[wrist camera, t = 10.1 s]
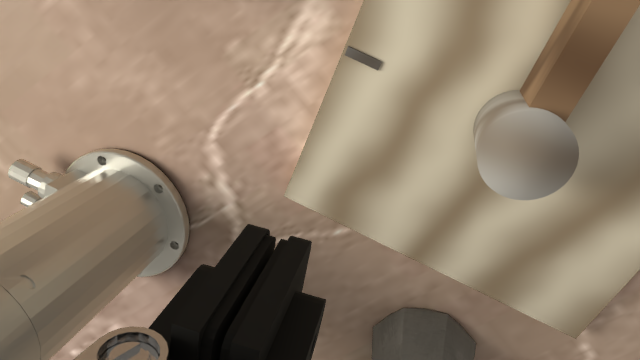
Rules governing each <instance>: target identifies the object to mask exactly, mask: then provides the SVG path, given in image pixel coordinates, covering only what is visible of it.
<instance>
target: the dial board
mask: <svg viewBox="0 0 640 360" xmlns="http://www.w3.org/2000/svg"><path fill="white" fill-rule="evenodd" d="M570 1H571V0H364V2H363V4H362V6H361V9H360V11H359V14H358V16H357V19H356V21H355V24H354V26H353V28H352V31H351V33H350V36H349V38H348V41H347V43H346V46H345V48H344V50H343V53H342V55H341V58H340V60H339V63H338V65H337V68H336V70H335V72H334V75H333V77H332V80H331V82H330V85H329V87H328V89H327V92H326V94H325V97H324V99H323V102H322V104H321V107H320V109H319V111H318V114H317V116H316V119H315V121H314V124H313V126H312V129H311V131H310V133H309V136H308V138H307V141H306V143H305V146H304V148H303V151H302V153H301V155H300V158H299V160H298V163H297V165H296V168H295V170H294V172H293V175H292V177H291V180H290V182H289V185H288V187H287V190H286V192H285V194H284V197H286V198H289V199H291V200H293V201H295V202H297V203H299V204H301V205H303V206H305V207H307V208H309V209H311V210H313V211H315V212H317V213H319V214H321V215H323V216H325V217H327V218H329V219H331V220H334V221H336V222H338V223H340V224H342V225H344V226H346V227H348V228H350V229H352V230H354V231H356V232H358V233H360V234H362V235H364V236H366V237H368V238H370V239H372V240H374V241H376V242H379V243H381V244H383V245H385V246H387V247H389V248H391V249H393V250H395V251H397V252H399V253H401V254H403V255H405V256H407V257H409V258H411V259H413V260H415V261H417V262H419V263H421V264H423V265H426V266H428V267H430V268H432V269H434V270H436V271H438V272H440V273H442V274H444V275H446V276H448V277H450V278H452V279H454V280H456V281H458V282H460V283H462V284H464V285H466V286H468V287H471V288H473V289H475V290H477V291H479V292H481V293H483V294H485V295H487V296H489V297H491V298H493V299H495V300H497V301H499V302H501V303H503V304H505V305H507V306H509V307H511V308H513V309H516V310H518V311H520V312H522V313H524V314H526V315H528V316H530V317H532V318H534V319H536V320H538V321H540V322H542V323H544V324H546V325H548V326H550V327H552V328H554V329H556V330H558V331H561V332H563V333H565V334H567V335H569V336H571V337H573V338H575V339H576V338H577V337H578V336H579V335H580V334H581V333H582V331H583V330H584V329H585V328H586V327H587V326H588V325H589V324H590V323H591V322H592V321H593V320H594V318H595V317H596V316H597V315H598V314H599V313H600V312H601V311H602V310H603V309H604V308H605V307H606V305H607V304H608V303H609V302H610V301H611V300H612V299H613V298H614V297H615V296H616V295H617V294H618V292H619V291H620V290H621V289H622V288H623V287H624V286H625V285H626V284H627V283H628V282H629V281H630V279H631V278H632V277H633V276H634V275H635V274H636V273H637V272H638V271H639V270H640V6H639V7H638V9H637V10H636V12H635V13H634V15H633V17H632V18H631V20H630V21H629V23H628V24H627V26H626V28H625V29H624V31H623V32H622V34H621V35H620V37H619V39H618V40H617V42H616V43H615V45H614V46H613V48H612V50H611V51H610V53H609V54H608V56H607V57H606V59H605V61H604V62H603V64H602V65H601V67H600V68H599V70H598V72H597V73H596V75H595V76H594V78H593V79H592V81H591V83H590V84H589V86H588V87H587V89H586V90H585V92H584V94H583V95H582V97H581V98H580V100H579V101H578V103H577V105H576V106H575V108H574V109H573V111H572V112H571V114H570V116H569V117H568V119H567V120H566V122H565V123H566V124H567V125H568V126H569V128H570V129H571V130H572V132H573V134H574V135H575V137H576V140H577V142H578V147H579V159H578V164H577V167H576V169H575V172H574V173H573V175H572V177H571V178H570V179H569V180H568V182H567V183H566V184H565V185H564V186H563V187H561V188H560V189H559V190H557V191H556V192H554V193H552V194H550V195H548V196H546V197H543V198H539V199H535V200H514V199H510V198H507V197H504V196H502V195H500V194H498V193H496V192H495V191H493V190H492V189H491V188H490V187H489V186H488V185H487V184H486V183H485V182H484V180H483V179H482V177H481V175H480V173H479V169H478V165H477V157H476V149H475V142H474V134H473V127H474V122H475V119H476V116H477V114H478V112H479V111H480V109H481V108H482V107H483V106H484V105H485V104H486V103H487V102H488V101H489V100H490V99H492V98H493V97H495V96H497V95H499V94H501V93H503V92H507V91H512V90H520V89H521V87H522V86H523V84H524V82H525V80H526V79H527V77H528V75H529V73H530V71H531V70H532V68H533V66H534V64H535V63H536V61H537V59H538V57H539V56H540V54H541V52H542V50H543V49H544V47H545V45H546V43H547V42H548V40H549V38H550V36H551V34H552V33H553V31H554V29H555V27H556V26H557V24H558V22H559V20H560V19H561V17H562V15H563V13H564V12H565V10H566V8H567V6H568V5H569V3H570Z"/></svg>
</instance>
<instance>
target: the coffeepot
mask: <svg viewBox="0 0 640 360" xmlns="http://www.w3.org/2000/svg"><path fill="white" fill-rule="evenodd" d="M475 348H476V343H475V341H474V340H473V339H472V338H471V337H470V336H469V335H468V333H467V332H466V331H465V330H464V328H463V327H462V326H461V325H460V324H458V323H457V322H456V321H455V320H454V319H452V318H451V317H450V316H449V315H448V314H445V313H441V312H438V311H434V310H429V309H424V308H410V309H409V308H402V309H400V310H398V311H396V312H394V313H392V314H390V315H388V316H387V317H386V318H384V319H383V320H382V321H381V322H380V323H378V324H377V325H375V326H374V327H373V339H372V360H474V355H475Z"/></svg>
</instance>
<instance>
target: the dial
mask: <svg viewBox="0 0 640 360" xmlns="http://www.w3.org/2000/svg"><path fill="white" fill-rule="evenodd" d="M639 6H640V0H571V1H570V3H569V5H568V6H567V8H566V10H565V12H564V13H563V15H562V17H561V19H560V20H559V22H558V24H557V26H556V27H555V29H554V31H553V33H552V34H551V36H550V38H549V40H548V42H547V43H546V45H545V47H544V49H543V50H542V52H541V54H540V56H539V57H538V59H537V61H536V63H535V64H534V66H533V68H532V70H531V71H530V73H529V75H528V77H527V79H526V80H525V82H524V84H523V86H522V87H521V89H520V90H512V91H507V92H503V93H501V94H499V95H497V96H495V97H493V98H492V99H490V100H489V101H488V102H487V103H486V104H485V105H484V106H483V107H482V108H481V109H480V111H479V112H478V114H477V116H476V119H475V122H474V127H473V134H474V142H475V149H476V157H477V165H478V169H479V173H480V175H481V177H482V179H483V180H484V182H485V183H486V184H487V185H488V186H489V187H490V188H491V189H492V190H493V191H495V192H496V193H498V194H500V195H502V196H504V197H507V198H510V199H514V200H535V199H539V198H543V197H546V196H548V195H550V194H552V193H554V192H556V191H557V190H559V189H560V188H561V187H563V186H564V185H565V184H566V183H567V182H568V180H569V179H570V178H571V177H572V175H573V173H574V172H575V169H576V167H577V164H578V159H579V147H578V142H577V140H576V137H575V135H574V134H573V132H572V130H571V129H570V128H569V126H568V125H567V124H566V123H565V122H566V120H567V119H568V117H569V116H570V114H571V112H572V111H573V109H574V108H575V106H576V105H577V103H578V101H579V100H580V98H581V97H582V95H583V94H584V92H585V90H586V89H587V87H588V86H589V84H590V83H591V81H592V79H593V78H594V76H595V75H596V73H597V72H598V70H599V68H600V67H601V65H602V64H603V62H604V61H605V59H606V57H607V56H608V54H609V53H610V51H611V50H612V48H613V46H614V45H615V43H616V42H617V40H618V39H619V37H620V35H621V34H622V32H623V31H624V29H625V28H626V26H627V24H628V23H629V21H630V20H631V18H632V17H633V15H634V13H635V12H636V10H637V9H638V7H639Z"/></svg>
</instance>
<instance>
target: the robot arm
mask: <svg viewBox="0 0 640 360" xmlns="http://www.w3.org/2000/svg"><path fill="white" fill-rule="evenodd" d="M8 175H9V178H11V179H13V180H15V181H17V182H19V183H21V184H23V185H25V186H27V187H29V188H30V187H31V188H33V189H35V190H37V191H38V195H37V194H36V193H34V192H32V191H29V192H27V193H25V194H24V195H23V197H22V199H21V204H22V205H24V206H26V208H24V209H22V210H20V211H19V212H17V213H15V214H13V215H11V216H9V217H8V218H6V219H4V220H2V221H0V360H50V359H51V358H52V357H53V356H54V355H55V354H56V353H57V352H58V351H59V350H60V349H61V348H62V347H63V346H64V345H65V344H66V343H67V342H69V341H70V340H71V339H72V338H73V337H74V336H75V335H76V334H77V333H78V332H79V331H80V330H81V329H82V328H83V327H84V326H85V325H86V324H87V323H88V322H89V321H91V320H92V319H93V318H94V317H95V316H96V315H97V314H98V313H99V312H100V311H101V310H102V309H103V308H104V307H105V306H106V305H107V304H108V303H109V302H110V301H111V300H113V299H114V298H115V297H116V296H117V295H118V294H119V293H120V292H121V291H122V290H123V289H124V288H125V287H126V286H127V285H128V284H129V283H130V282H131V281H132V280H133V279H135V278H136V277H148V276H155V275H158V274H160V273H163V272H165V271H166V270H168V269H169V268H171V267H172V266H173V265H174V264H175V263H176V262H177V261H178V260H179V258H180V257H181V256H182V254H183V253H184V251H185V249H186V246H187V243H188V239H189V231H190V230H189V218H188V215H187V211H186V207H185V205H184V203H183V200H182V198H181V196H180V194H179V192H178V191H177V189H176V188H175V186H174V185H173V183H172V182H171V181H170V180H169V179H168V178H167V176H166V175H165V174H164V173H163V172H162V171H161V170H159V169H158V168H157V167H156V166H155V165H153V164H152V163H151V162H149V161H147V160H146V159H144V158H142V157H141V156H139V155H136V154H134V153H131V152H129V151H125V150H120V149H115V148H114V149H99V150H95V151H92V152H90V153H87V154H85V155H83V156H81V157H80V158H78V159H77V160H75V161H74V162H73V163H72V164H71V165H70V166H69V168H68V169H67V170H66V172H65V174H64V176H63V175H61V174H59V173H57V172H53V173H50V174H49V173H47V172H45V171H43V170H42V169H41V168H40V167H38V166H36V165H34V164H32V163H30V162H28V161H26V160H24V159H19V160H17V161H15V162H14V163H13V164H12V165H11V167H10V169H9V172H8ZM269 235H270V231H269V230H268V229H265V228H261V227H257V226H254V225H250V224H248V225H247V226H246V227H245V228H244V230H243V231H242V232H241V234H240V235H239V236H238V238H237V239H236V240H235V242H234V243H233V244H232V246H231V247H230V248H229V249H228V251H227V252H226V253H225V255H224V256H223V257H222V259H221V260H220V261H219V263H218V264H217V265H216V266H215V267H211V266H208V265H204V264H203V265H201V266H200V267H199V268H198V269H197V270H196V271H195V272H194V273H193V275H192V276H191V277H190V278H189V280H188V281H187V282H186V283H185V284H184V286H183V287H182V288H181V289H180V290H179V292H178V293H177V294H176V295H175V297H174V298H173V299H172V300H171V301H170V303H169V304H168V305H167V306H166V308H165V309H164V310H163V311H162V312H161V314H160V315H159V316H158V317H157V318H156V320H155V321H154V322H153V323H152V325H151V326H150V327H149V328H145V327H125V328H120V329H117V330H114V331H111V332H109V333H107V334H105V335H104V336H102V337H101V338H99V339H98V340H97V341H95V342H94V343H93V344H92V345H91V346H89V347H88V348H87V349H86V350H84V351H83V352H82V353H81V354H80V355H78V356H77V357H76V358H75V359H73V360H311V358H312V354H313V351H314V347H315V344H316V340H317V336H318V333H319V329H320V325H321V321H322V316H323V312H324V308H325V303H326V299H322V298H319V297H315V296H312V295H308V294H305V293H302V288H303V283H304V278H305V274H306V269H307V264H308V259H309V254H310V250H311V243H312V242H311V241H308V240H305V239H301V238H297V237H294V236H290V237H289V239H288V241H287V240H283V239H281V240H280V241H279V243H278V245H277V247H276V248H275V242H276V238H275V237H273V236H269ZM274 248H275V250H274Z"/></svg>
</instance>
